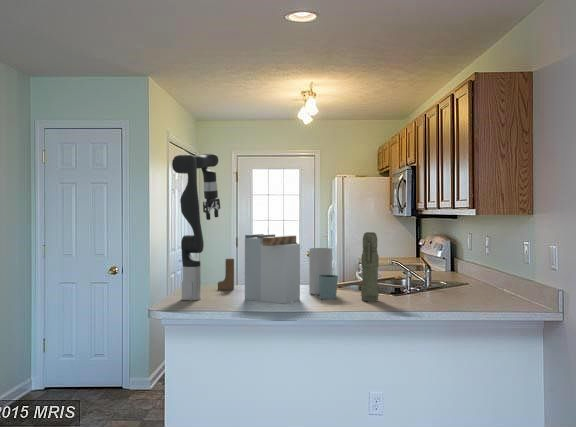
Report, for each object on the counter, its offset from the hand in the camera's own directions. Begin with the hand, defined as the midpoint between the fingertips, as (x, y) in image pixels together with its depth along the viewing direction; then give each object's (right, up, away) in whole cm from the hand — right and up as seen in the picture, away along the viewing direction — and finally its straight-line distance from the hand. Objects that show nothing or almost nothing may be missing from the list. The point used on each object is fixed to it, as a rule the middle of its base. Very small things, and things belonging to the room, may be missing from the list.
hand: (212, 218), depth 318 cm
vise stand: (+34, -42, -25) cm, 59 cm away
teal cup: (+64, -42, -20) cm, 79 cm away
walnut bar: (+38, -13, -30) cm, 50 cm away
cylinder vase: (+61, -42, -4) cm, 74 cm away
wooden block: (+6, -42, +12) cm, 44 cm away
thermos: (+85, -42, -27) cm, 98 cm away
